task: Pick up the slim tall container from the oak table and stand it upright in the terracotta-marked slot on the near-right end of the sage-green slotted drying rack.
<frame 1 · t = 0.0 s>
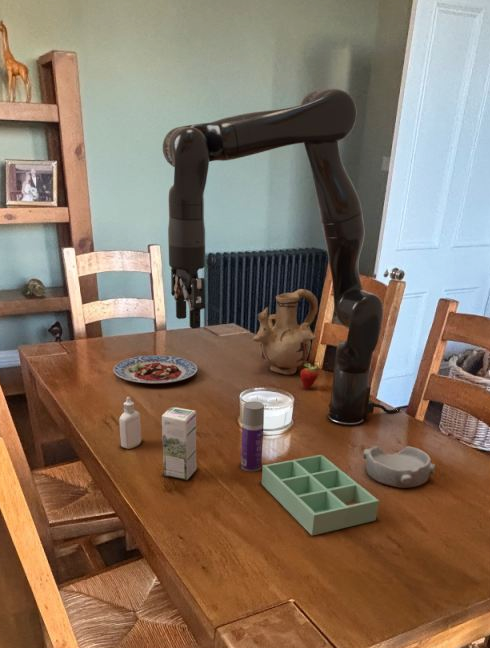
hand: (187, 323, 133), 29 cm above the table, tool pointing down, fingers open, 8 cm apart
syrup box: (180, 473, 136), on the table
ceramic vessel: (279, 370, 198), on the table
dish: (396, 476, 138), on the table
eye dropper bottle: (131, 445, 148), on the table
container: (250, 467, 140), on the table
rack: (316, 501, 127), on the table
fruit: (307, 389, 184), on the table
ceramic plate: (156, 375, 191), on the table
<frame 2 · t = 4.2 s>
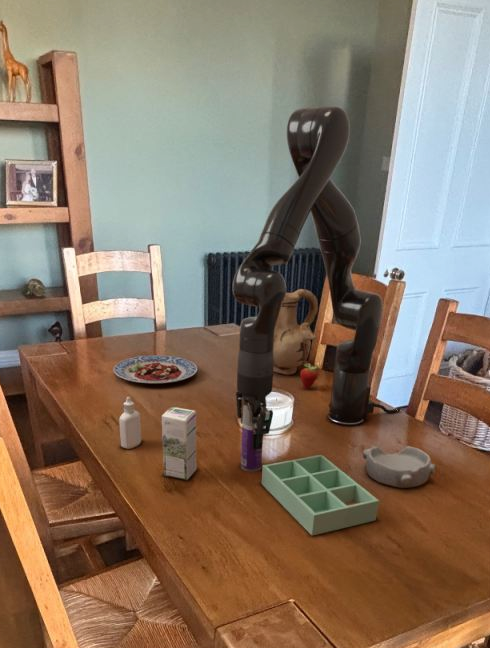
hand: (251, 443, 137), 6 cm above the table, tool pointing down, fingers closed on container, 4 cm apart
container: (250, 467, 140), on the table, touching gripper
everything else where it was.
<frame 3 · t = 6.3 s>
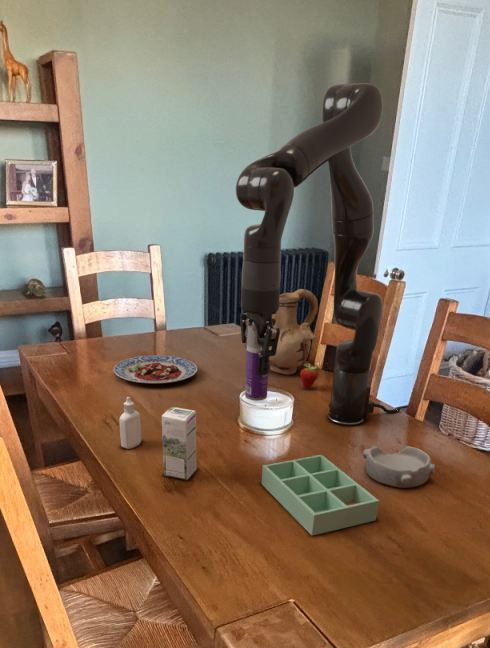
hand: (257, 369, 127), 23 cm above the table, tool pointing down, fingers closed on container, 4 cm apart
container: (256, 397, 131), point 17 cm above the table, touching gripper
everything else where it was.
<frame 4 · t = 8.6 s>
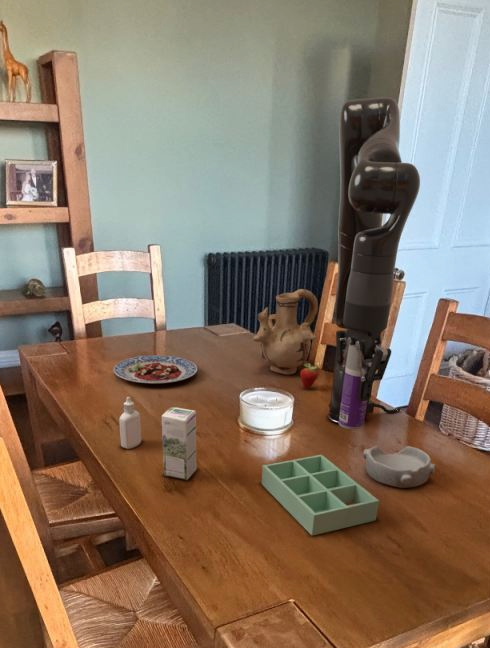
hand: (355, 394, 111), 25 cm above the table, tool pointing down, fingers closed on container, 4 cm apart
container: (350, 425, 115), point 19 cm above the table, touching gripper
everything else where it was.
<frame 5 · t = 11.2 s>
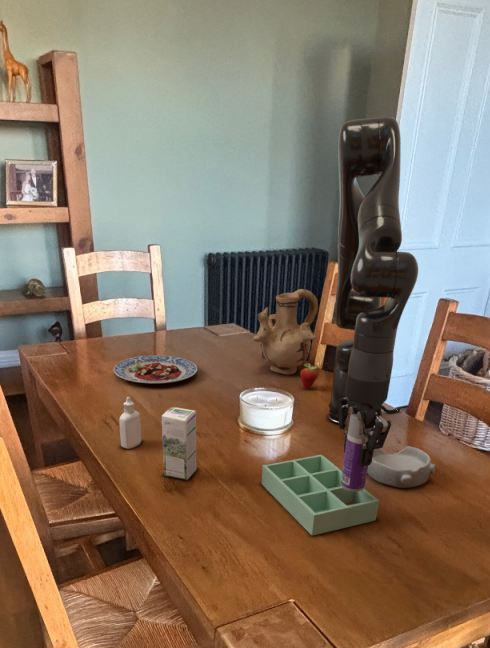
hand: (356, 458, 117), 13 cm above the table, tool pointing down, fingers closed on container, 4 cm apart
container: (352, 486, 120), point 6 cm above the table, touching gripper
everything else where it was.
when the fingers open (7 cm above the table, at t = 13.0 s): container stays where it is, resting on rack.
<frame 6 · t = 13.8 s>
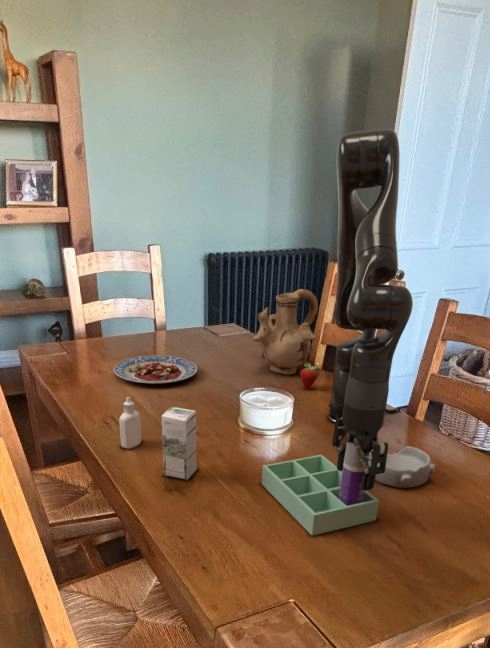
hand: (354, 479, 119), 8 cm above the table, tool pointing down, fingers open, 8 cm apart
container: (348, 512, 123), point 1 cm above the table, touching rack
everything else where it was.
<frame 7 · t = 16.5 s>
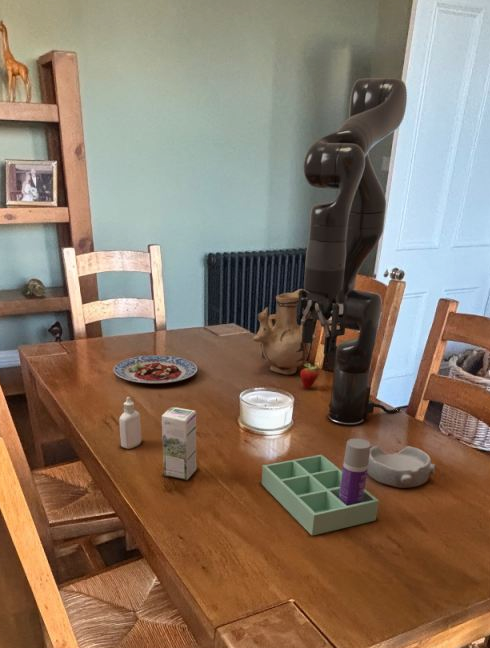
hand: (317, 348, 125), 28 cm above the table, tool pointing down, fingers open, 8 cm apart
nothing on the table moved.
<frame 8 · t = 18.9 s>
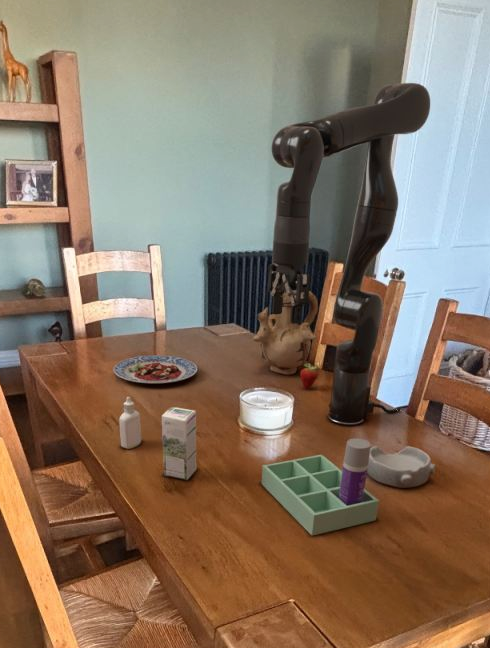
hand: (285, 318, 136), 30 cm above the table, tool pointing down, fingers open, 8 cm apart
nothing on the table moved.
at the end: container 0.1 cm from the target spot in the rack, point 0.6 cm above the rack's base; container tilted 0°; the gripper is holding nothing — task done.
